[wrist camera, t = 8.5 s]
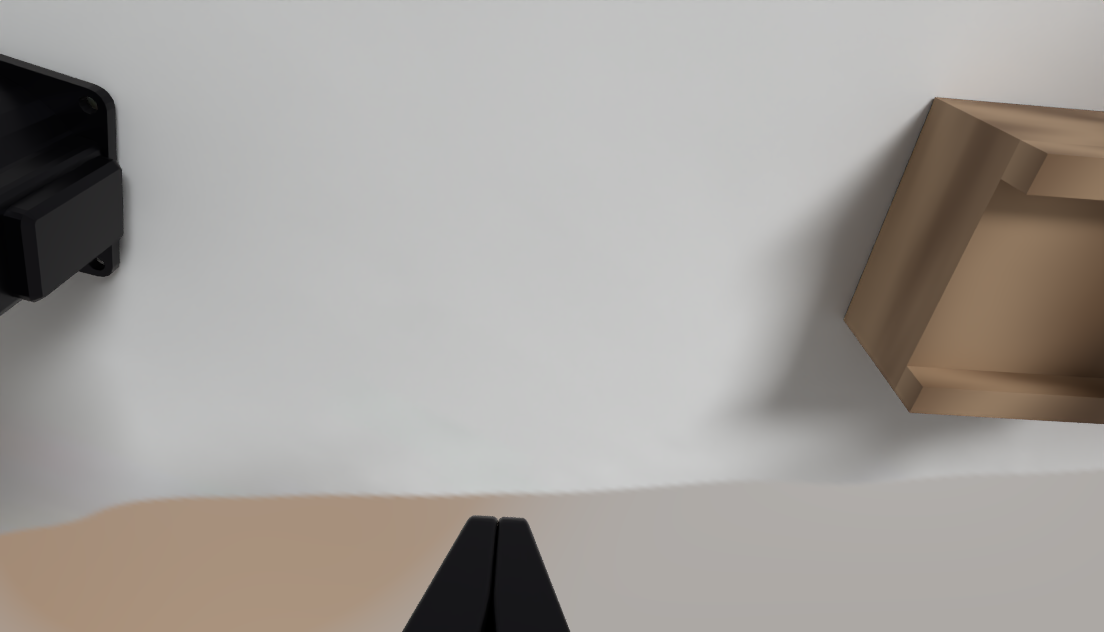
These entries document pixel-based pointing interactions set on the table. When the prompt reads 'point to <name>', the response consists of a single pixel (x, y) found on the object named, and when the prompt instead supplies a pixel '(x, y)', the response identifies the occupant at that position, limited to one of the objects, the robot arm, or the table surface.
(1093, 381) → the track
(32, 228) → the robot arm
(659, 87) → the table surface
